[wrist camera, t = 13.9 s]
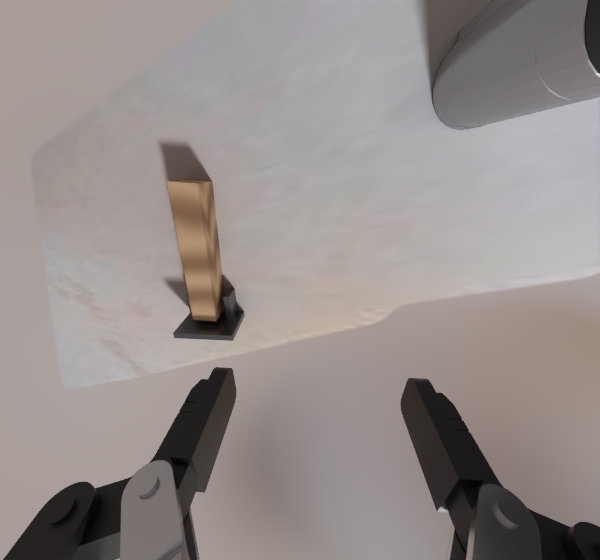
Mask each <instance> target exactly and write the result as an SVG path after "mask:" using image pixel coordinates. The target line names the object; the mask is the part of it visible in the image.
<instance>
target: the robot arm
mask: <svg viewBox="0 0 600 560" xmlns="http://www.w3.org/2000/svg"><path fill="white" fill-rule="evenodd" d="M597 97H600V0H492V1H491V2H490V3H489V4H488V5H487V6H486V7H485V8H484V9H482V10H481V11H480V12H479V13H478V14H477V15H476V16H475V17H474V18H473V19H472V20H471V21H470V22H468V23H467V24H466V25H465V26H464V27H463V28H462V29H461V30H460V32H459V36H458V39H457V42H456V44H455V45H454V47H453V48H452V49H451V51H450V52H449V53H448V54H447V56H446V57H445V59H444V60H443V62H442V64H441V66H440V68H439V70H438V73H437V75H436V78H435V83H434V87H433V103H434V108H435V111H436V113H437V116H438V117H439V118H440V120H441V121H442V122H443V123H444V124H445V125H447V126H449V127H451V128H453V129H460V130H463V129H470V128H475V127H480V126H484V125H487V124H491V123H495V122H499V121H503V120H507V119H512V118H516V117H520V116H524V115H528V114H532V113H536V112H540V111H544V110H548V109H552V108H556V107H560V106H564V105H568V104H572V103H577V102H581V101H585V100H589V99H593V98H597ZM235 399H236V386H235V380H234V375H233V370H232V368H218V367H216V368H214V369H213V371H212V373H211V375H210V377H209V379H208V380H205V379H202V380H200V381H199V383H197V384H196V385H195V386H194V387H193V388H192V389H191V391H190V393H189V395H188V397H187V398H186V401H185V403H184V404H183V406H182V407H181V409H180V412H179V414H178V415H177V417H176V418H175V420H174V422H173V424H172V426H171V428H170V429H169V431H168V433H167V435H166V437H165V438H164V440H163V442H162V444H161V446H160V447H159V449H158V451H157V453H156V454H155V456H154V457H153V459H152V460H151V461H150V462H149V463H148V464H146V465H145V466H144V467H142V468H141V469H139V470H138V471H137V472H136V473H135V474H134V475H133V476H132V477H130V478H128V479H125V480H122V481H119V482H115V483H112V484H109V485H105V486H102V487H99V488H94V487H93V486H92V485H91V484H90V483H88V482H78V483H75V484H72V485H70V486H68V487H67V488H65V489H63V490H61V491H60V492H59V493H57V494H56V495H55V496H54V497H53V498H51V499H50V500H49V501H48V502H47V503H46V504H45V505H44V507H43V508H42V509H41V510H40V511H39V513H38V514H37V515H36V517H35V518H34V519H33V521H32V522H31V523H30V525H29V526H28V527H27V529H26V530H25V532H24V533H23V534H22V535H21V537H20V538H19V539H18V541H17V542H16V544H15V545H14V546H13V547H12V549H11V550H10V551H9V553H8V554H7V555H6V557H5V558H4V559H3V560H115V559H118V558H120V560H199V554H198V548H197V542H196V537H195V531H194V525H193V520H192V515H191V509H190V506H191V503H192V500H193V497H194V495H195V492H205V490H206V487H207V484H208V481H209V478H210V475H211V472H212V469H213V466H214V463H215V460H216V457H217V454H218V451H219V448H220V445H221V442H222V439H223V437H224V434H225V430H226V427H227V424H228V421H229V418H230V416H231V413H232V409H233V407H234V403H235ZM401 411H402V415H403V418H404V420H405V423H406V426H407V429H408V431H409V434H410V437H411V440H412V443H413V445H414V448H415V451H416V454H417V457H418V460H419V462H420V465H421V468H422V471H423V474H424V476H425V479H426V482H427V485H428V488H429V490H430V493H431V496H432V499H433V502H434V504H435V507H436V510H437V512H447V513H449V515H450V517H451V520H452V523H453V524H452V527H451V532H450V538H449V545H448V550H447V555H446V560H600V527H598V526H596V525H594V524H591V523H587V522H579V523H577V524H575V525H574V526H573V527H569V526H566V525H564V524H562V523H559V522H557V521H555V520H552V519H550V518H548V517H545V516H543V515H540V514H538V513H536V512H534V511H532V510H530V509H528V508H527V507H526V506H525V505H524V504H523V503H522V502H521V500H520V499H518V498H517V497H516V496H515V495H514V494H513V493H511V492H510V491H508V490H507V489H505V488H504V487H503V486H502V485H501V484H500V482H499V481H498V479H497V478H496V476H495V474H494V473H493V471H492V469H491V467H490V466H489V464H488V462H487V461H486V459H485V457H484V456H483V454H482V452H481V450H480V449H479V447H478V445H477V443H476V442H475V440H474V438H473V437H472V435H471V433H469V431H468V428H467V426H466V425H465V423H464V421H462V418H461V416H460V415H459V413H458V411H457V410H456V408H455V406H454V405H453V404H452V403H451V402H450V401H449V400H448V399H447V398H446V397H445V396H444V395H443V394H442V393H436V392H435V390H434V388H433V386H432V384H431V383H430V381H429V380H428V379H417V378H409V379H408V380H407V383H406V386H405V389H404V392H403V395H402V399H401Z"/></svg>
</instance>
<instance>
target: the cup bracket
mask: <svg viewBox="0 0 600 560" xmlns="http://www.w3.org/2000/svg"><path fill="white" fill-rule="evenodd" d="M186 297H187V301H188V305H189V309H190V314H189V315H188V316H187V317H186V319H185V320H184V321H183V322H182V323H181V325H180V326H179V327H178V328H177V329H176V330H175V332H174V333H173V334H174V337H175V338H189V339H210V340H232V341H233V339H234V337H235V335H236V333H237V331H238V329H239V326H240V324H241V322H242V320H243V318H244V311H237V303H236V296H235V289H234V288H229V289H228V291H227V292H226V293H225V295H224V296H223V299H224V305H225V311H222V313H221V314H220V316H219V318H218V319H217V321H204V320H193V316H192V311H191V306H190V300H189V295H188V294H187V295H186Z"/></svg>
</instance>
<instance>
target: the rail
mask: <svg viewBox="0 0 600 560" xmlns="http://www.w3.org/2000/svg"><path fill="white" fill-rule="evenodd" d="M167 185H168V190H169V195H170V201H171V206H172V211H173V216H174V222H175V227H176V232H177V237H178V243H179V248H180V253H181V258H182V264H183V269H184V274H185V279H186V285H187V290H188V295H189V300H190V306H191V311H192V316H193V320H204V321H217V319H218V318H219V316H220V314H221V313H222V311H223V310H224V308H225V305H224V299H223V296H224V288H223V278H222V269H221V259H220V250H219V240H218V231H217V222H216V212H215V203H214V193H213V184H212V181H200V180H186V179H185V180H175V181H167Z"/></svg>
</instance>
